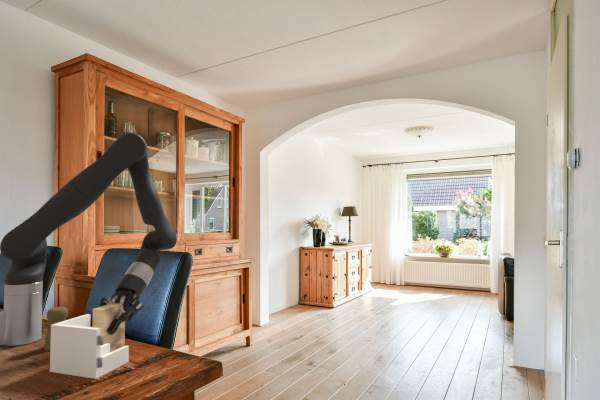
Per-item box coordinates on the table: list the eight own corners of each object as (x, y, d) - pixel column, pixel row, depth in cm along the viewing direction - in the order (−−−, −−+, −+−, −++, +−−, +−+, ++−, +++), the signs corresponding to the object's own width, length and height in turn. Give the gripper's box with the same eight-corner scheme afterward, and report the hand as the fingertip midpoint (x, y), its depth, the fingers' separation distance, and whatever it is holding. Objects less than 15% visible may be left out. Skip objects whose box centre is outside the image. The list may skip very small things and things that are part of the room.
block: (114, 344, 108) (115, 302, 109) (124, 345, 107) (125, 303, 108) (91, 354, 101) (92, 308, 101) (102, 355, 100) (103, 309, 100)
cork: (57, 351, 103) (58, 310, 103) (38, 349, 104) (39, 309, 104) (74, 344, 109) (75, 305, 109) (56, 342, 110) (57, 304, 110)
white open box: (86, 356, 99) (86, 314, 100) (132, 362, 95) (132, 318, 95) (49, 371, 89) (50, 324, 90) (99, 379, 85) (100, 330, 85)
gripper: (110, 272, 114) (74, 323, 102) (149, 273, 110) (117, 328, 98) (123, 286, 119) (90, 337, 107) (160, 288, 115) (131, 342, 102)
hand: (103, 332), depth 102 cm, fingers closed on block, 3 cm apart
